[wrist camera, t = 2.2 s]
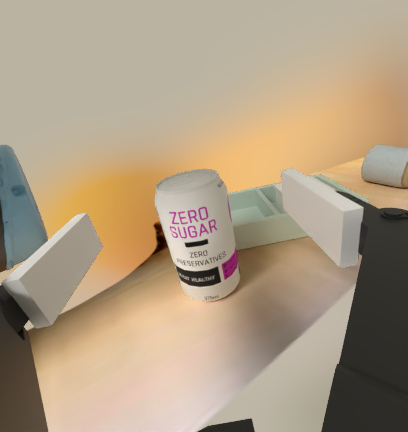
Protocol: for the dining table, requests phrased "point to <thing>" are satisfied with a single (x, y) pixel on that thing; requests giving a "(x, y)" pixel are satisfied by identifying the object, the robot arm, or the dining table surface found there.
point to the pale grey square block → (279, 194)
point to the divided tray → (267, 215)
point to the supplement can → (199, 233)
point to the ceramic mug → (386, 166)
